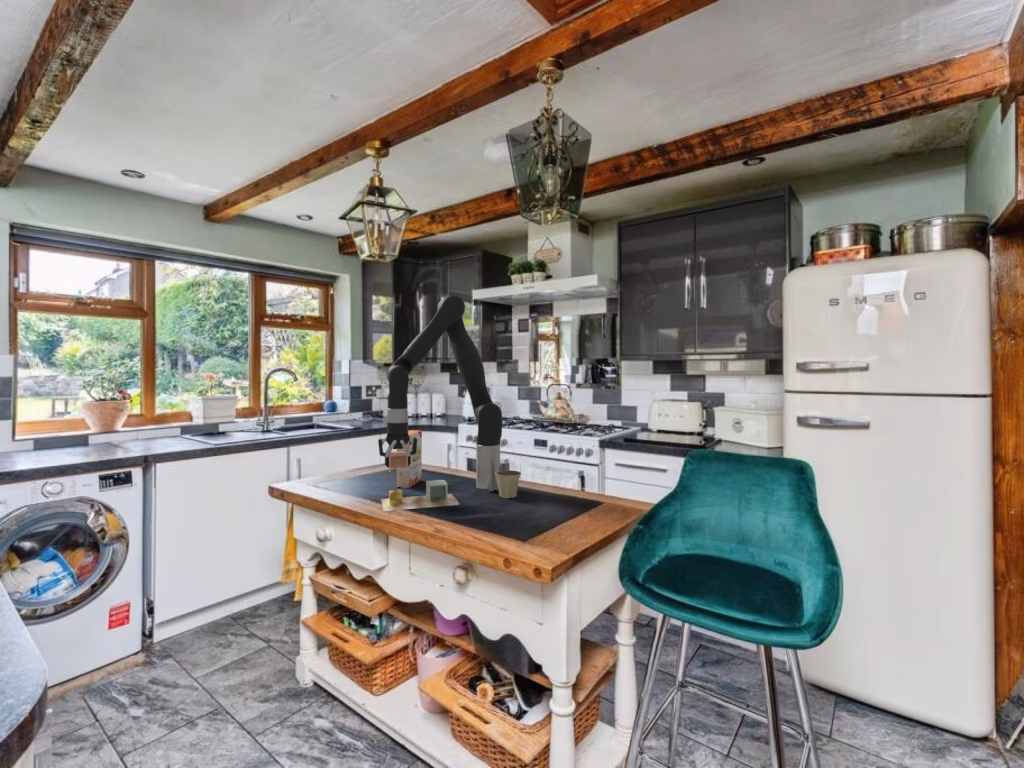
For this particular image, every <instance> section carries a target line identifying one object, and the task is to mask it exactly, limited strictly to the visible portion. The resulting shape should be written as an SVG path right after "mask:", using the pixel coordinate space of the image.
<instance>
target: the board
mask: <svg viewBox="0 0 1024 768" xmlns="http://www.w3.org/2000/svg"><path fill="white" fill-rule="evenodd" d="M380 502H381V505H382V511H383V512H388V511H390V512H391V511H401V510H411V509H412V510H413V509H426V508H436V507H437V508H439V507H448V506H449V507H450V506H459V505H460V502H459V500H457V498H456V497H455V495H454V494H453V493H448V501H446V500H445V499H444V497H437V498H430V503H429V502H428V500H427V498H426V495H417V496H402V504H398V505H390V503H389V497H388V498H380Z"/></svg>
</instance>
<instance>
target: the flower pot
mask: <svg viewBox="0 0 1024 768" xmlns="http://www.w3.org/2000/svg"><path fill="white" fill-rule="evenodd" d="M495 474H496V477H497V480H498V488H499V490H498V495H499V497H500V498H501V497H502V498H501V499H514V497H515V498H516V497H517V493H518V488H519V481H520V478H521V475H522V472H520V471H517V470H509V469H508V470H502V471H498V472H496V473H495Z"/></svg>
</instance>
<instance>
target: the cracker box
mask: <svg viewBox="0 0 1024 768" xmlns="http://www.w3.org/2000/svg"><path fill="white" fill-rule="evenodd" d="M422 434H423V430H420V429H418V430H414V429H412V430H411V429H408V435H409V437H410V438H414V437H416V438H417V447H416V454H413V455H411V464H410V465H409V467H408V471H406V469H405V468H396V488H397V487H401V488H400V489H407V488H410V487H411V488H413V487H414V486H415V484H416V483H417V482H419V481H420V480H421V479H422V480H423V478H422V466H423V465H422V463H423V461H422V460H423V459H422V458H423V457H422V455H423V453H422V452H423V451H422V450H423V449H422V448H423V447H422V445H423V443H422V441H423V435H422ZM406 446H407V448H408V450H409V452H410V451H412V443H411V441H410V440H409V442H408V443H407V444H406ZM397 451H405V450H404V448H403V449H396V452H397ZM422 480H421V481H422ZM421 481H420V482H421ZM420 482H419V483H420ZM417 484H418V483H417ZM417 484H416V485H417ZM413 485H414V486H413ZM412 486H413V487H412Z"/></svg>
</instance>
